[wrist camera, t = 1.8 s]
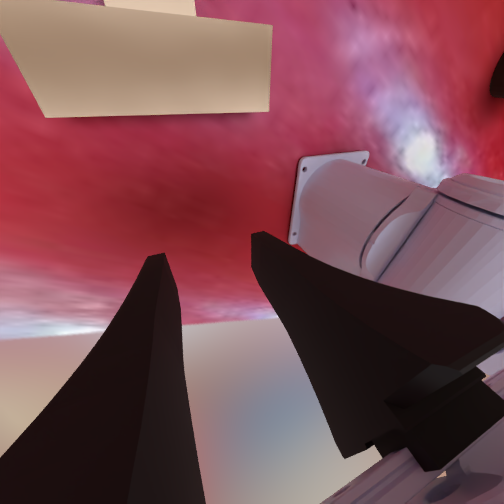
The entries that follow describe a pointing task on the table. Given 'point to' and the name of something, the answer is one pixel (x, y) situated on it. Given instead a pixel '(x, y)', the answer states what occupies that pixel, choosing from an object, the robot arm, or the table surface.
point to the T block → (136, 58)
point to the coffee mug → (498, 80)
